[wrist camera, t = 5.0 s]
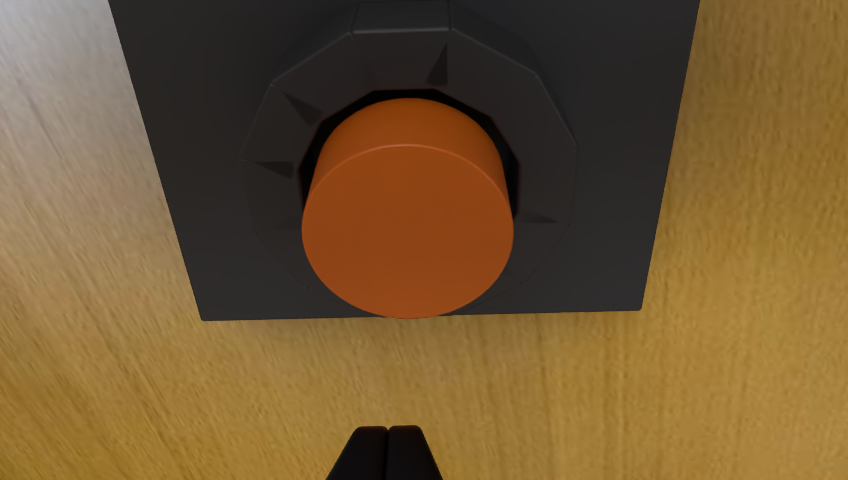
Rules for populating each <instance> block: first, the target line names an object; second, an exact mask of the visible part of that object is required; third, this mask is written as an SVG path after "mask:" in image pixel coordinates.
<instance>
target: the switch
mask: <svg viewBox="0 0 848 480" xmlns="http://www.w3.org/2000/svg"><path fill="white" fill-rule="evenodd" d="M301 230H302V241H303V245H304V249H305V253H306V255H307V258H308V260H309V263H310V264H311V266H312V268H313V270H314V271H315V273H316V274H317V276H318V277H319V278H320V280H321V281H322V282H323V283H324V284H325V285H326V286H327V287H328V288H329V289H330V290H331V291H332V292H333V293H335V294H336V295H337V296H339V297H340V298H341V299H343V300H344V301H346V302H348V303H349V304H351V305H353V306H355V307H357V308H360V309H362V310H364V311H367V312H370V313H373V314H377V315H381V316H385V317H392V318H400V319H417V318H427V317H433V316H438V315H442V314H445V313H449V312H451V311H454V310H456V309H459V308H461V307H463V306H465V305H467V304H469V303H471V302H472V301H474V300H475V299H476V298H478V297H479V296H481V295H482V294H483V293H484V292H485V291H486V290H488V289H489V288H490V287H491V286H492V284H493V283H494V282H495V281H496V280H497V279H498V277H499V276H500V274H501V273H502V271H503V269H504V268H505V266H506V263H507V261H508V259H509V257H510V253H511V250H512V246H513V238H514V226H513V219H512V213H511V208H510V203H509V197H508V192H507V187H506V181H505V176H504V171H503V165H502V161H501V158H500V155H499V153H498V150H497V149H496V147H495V145H494V143H493V141H492V140H491V138H490V137H489V136H488V134H487V133H486V132H485V131H484V130H483V129H482V128H481V127H480V125H479V124H478V123H476V122H475V121H474V120H473V119H471V118H470V117H469V116H467V115H466V114H464V113H462V112H461V111H459V110H457V109H455V108H453V107H450V106H448V105H446V104H443V103H439V102H436V101H432V100H426V99H420V98H398V99H390V100H386V101H381V102H377V103H375V104H372V105H369V106H366V107H364V108H363V109H361V110H359V111H357V112H355V113H353V114H352V115H351V116H349V117H348V118H346V119H345V120H344V121H343V122H342V123H341V124H339V125H338V126H337V127H336V128H335V130H334V131H333V132H332V133H331V135H330V136H329V137H328V139H327V140H326V142H325V144H324V146H323V148H322V150H321V152H320V155H319V158H318V161H317V165H316V168H315V172H314V176H313V179H312V183H311V187H310V190H309V194H308V198H307V201H306V205H305V209H304V213H303V217H302V229H301Z"/></svg>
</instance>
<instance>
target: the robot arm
mask: <svg viewBox="0 0 848 480" xmlns="http://www.w3.org/2000/svg"><path fill="white" fill-rule="evenodd" d="M326 480H443V478H442V476H441V474H440V471H439V469H438V467H437V464H436V462H435V460H434V458H433V455H432V453H431V451H430V448H429V446H428V444H427V441H426V439H425V437H424V434H423V432H422V430H421V429H420V427H418V426H416V425H407V426H392V427H391V428H390V429H389V431H388V430H387V428H386V427H383V426H366V427H358V428H357V429H356V430H355V431H354V432H353V434H352V435H351V437H350V439H349V440H348V442H347V444H346V446H345V447H344V449H343V451H342V453H341V454H340V456H339V458H338V459H337V461H336V463H335V465H334V466H333V468H332V470H331V471H330V473H329V475H328V477H327V478H326Z"/></svg>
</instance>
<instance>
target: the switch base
mask: <svg viewBox="0 0 848 480" xmlns="http://www.w3.org/2000/svg"><path fill="white" fill-rule="evenodd" d="M108 2H109V5H110V9H111V12H112V15H113V19H114V22H115V26H116V29H117V33H118V36H119V39H120V43H121V46H122V50H123V53H124V57H125V60H126V63H127V67H128V70H129V74H130V77H131V81H132V84H133V87H134V91H135V94H136V98H137V101H138V105H139V108H140V111H141V115H142V118H143V122H144V125H145V129H146V132H147V135H148V139H149V142H150V146H151V149H152V153H153V156H154V159H155V163H156V166H157V170H158V173H159V177H160V180H161V183H162V187H163V190H164V194H165V197H166V201H167V204H168V207H169V211H170V214H171V218H172V221H173V225H174V228H175V231H176V235H177V238H178V242H179V245H180V249H181V252H182V256H183V259H184V262H185V266H186V269H187V273H188V276H189V280H190V283H191V286H192V290H193V293H194V297H195V300H196V304H197V307H198V310H199V314H200V317H201V320H202V321H226V320H268V319H310V318H352V317H385V316H381V315H377V314H373V313H370V312H367V311H364V310H362V309H360V308H357V307H355V306H353V305H351V304H349V303H348V302H346V301H344V300H343V299H341V298H340V297H339V296H337V295H336V294H335V293H333V292H332V291H331V290H330V289H329V288H328V287H327V286H326V285H325V284H324V283H323V282H322V281H321V280H320V278H319V277H318V276H317V274H316V273H315V271H314V270H313V268H312V266H311V264H310V263H309V260H308V258H307V255H306V253H305V249H304V245H303V241H302V230H301V229H302V217H303V213H304V209H305V205H306V201H307V198H308V194H309V190H310V187H311V183H312V179H313V176H314V172H315V168H316V165H317V161H318V158H319V155H320V152H321V150H322V148H323V146H324V144H325V142H326V140H327V139H328V137H329V136H330V135H331V133H332V132H333V131H334V130H335V128H336V127H337V126H338V125H339V124H341V123H342V122H343V121H344V120H345V119H346V118H348V117H349V116H351V115H352V114H353V113H355V112H357V111H359V110H361V109H363V108H364V107H366V106H369V105H372V104H375V103H377V102H381V101H386V100H390V99H398V98H420V99H426V100H432V101H436V102H439V103H443V104H446V105H448V106H450V107H453V108H455V109H457V110H459V111H461V112H462V113H464V114H466V115H467V116H469V117H470V118H471V119H473V120H474V121H475V122H476V123H478V124H479V125H480V127H481V128H482V129H483V130H484V131H485V132H486V133H487V134H488V136H489V137H490V138H491V140H492V141H493V143H494V145H495V147H496V149H497V150H498V153H499V155H500V158H501V161H502V165H503V171H504V176H505V181H506V187H507V192H508V197H509V203H510V208H511V213H512V219H513V226H514V238H513V246H512V250H511V253H510V257H509V259H508V261H507V263H506V266H505V268H504V269H503V271H502V273H501V274H500V276H499V277H498V279H497V280H496V281H495V282H494V283H493V284H492V286H491V287H490V288H489V289H488V290H486V291H485V292H484V293H483V294H482V295H481V296H479V297H478V298H476V299H475V300H474V301H472V302H471V303H469V304H467V305H465V306H463V307H461V308H459V309H456V310H454V311H451V312H449V313H445V314H442V315H438V316H452V315H477V314H519V313H561V312H603V311H639V310H641V308H642V303H643V297H644V292H645V287H646V282H647V276H648V271H649V266H650V261H651V255H652V250H653V245H654V240H655V234H656V229H657V224H658V219H659V213H660V208H661V203H662V198H663V192H664V187H665V182H666V177H667V171H668V166H669V161H670V156H671V150H672V145H673V140H674V135H675V129H676V124H677V119H678V114H679V108H680V103H681V98H682V93H683V87H684V82H685V77H686V72H687V66H688V61H689V56H690V51H691V45H692V40H693V35H694V30H695V24H696V19H697V14H698V9H699V3H700V0H108Z"/></svg>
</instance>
